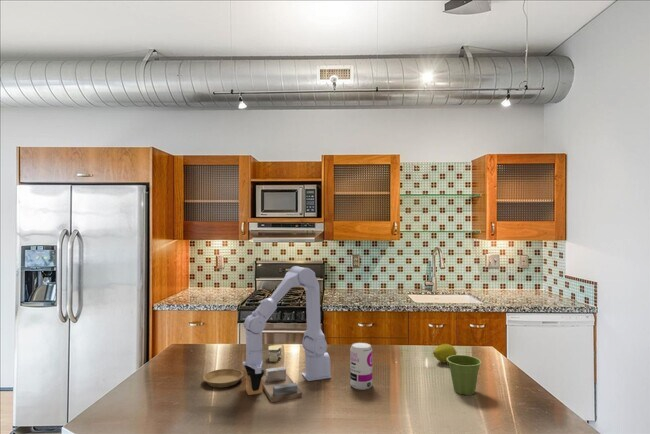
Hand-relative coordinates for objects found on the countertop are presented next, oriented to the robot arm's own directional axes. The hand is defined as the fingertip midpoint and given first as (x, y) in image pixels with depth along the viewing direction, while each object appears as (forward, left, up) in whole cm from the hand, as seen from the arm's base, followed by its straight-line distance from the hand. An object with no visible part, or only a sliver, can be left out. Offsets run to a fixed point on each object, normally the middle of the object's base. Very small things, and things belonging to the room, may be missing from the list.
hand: (253, 387), depth 145 cm
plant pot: (-70, +28, -2) cm, 75 cm away
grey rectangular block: (-9, -3, 0) cm, 10 cm away
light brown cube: (0, 0, -2) cm, 2 cm away
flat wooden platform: (-9, +1, -1) cm, 9 cm away
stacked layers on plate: (-16, -31, -2) cm, 35 cm away
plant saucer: (+9, -13, -2) cm, 16 cm away
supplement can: (-38, +10, -2) cm, 39 cm away
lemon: (-83, +1, -2) cm, 83 cm away
